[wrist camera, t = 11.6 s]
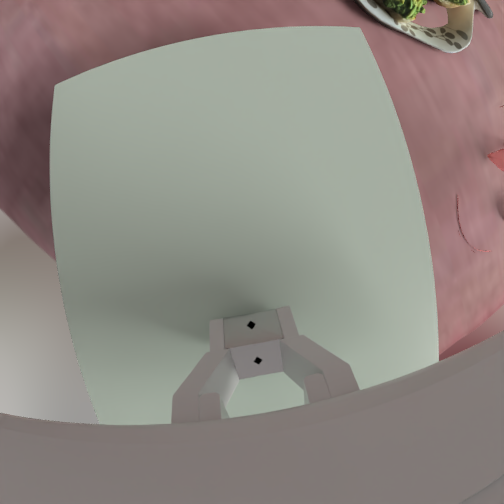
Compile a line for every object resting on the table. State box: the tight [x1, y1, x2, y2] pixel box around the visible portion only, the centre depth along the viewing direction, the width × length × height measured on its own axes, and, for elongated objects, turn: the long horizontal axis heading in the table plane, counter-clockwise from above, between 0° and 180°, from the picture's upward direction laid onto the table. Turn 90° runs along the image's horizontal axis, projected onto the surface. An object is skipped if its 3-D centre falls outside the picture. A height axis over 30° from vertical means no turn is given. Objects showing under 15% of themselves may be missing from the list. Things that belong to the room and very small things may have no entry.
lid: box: [50, 26, 439, 425], centre depth 12 cm, size 20×17×1 cm
